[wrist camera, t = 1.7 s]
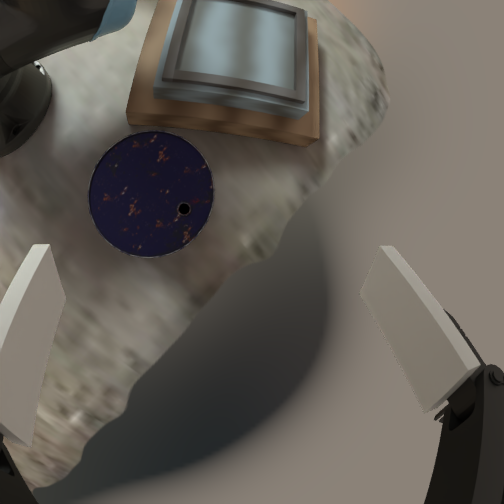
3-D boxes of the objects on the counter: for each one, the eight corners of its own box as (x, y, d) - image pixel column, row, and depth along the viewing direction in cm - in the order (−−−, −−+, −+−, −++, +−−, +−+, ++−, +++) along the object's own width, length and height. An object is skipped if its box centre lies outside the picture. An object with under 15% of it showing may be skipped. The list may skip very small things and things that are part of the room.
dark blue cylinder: (103, 230, 34) (64, 223, 19) (140, 158, 34) (127, 109, 20) (175, 266, 36) (180, 282, 22) (210, 194, 37) (239, 165, 23)
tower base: (128, 124, 34) (122, 97, 26) (161, 6, 34) (164, -27, 26) (305, 147, 40) (334, 129, 33) (306, 32, 40) (327, 6, 33)
